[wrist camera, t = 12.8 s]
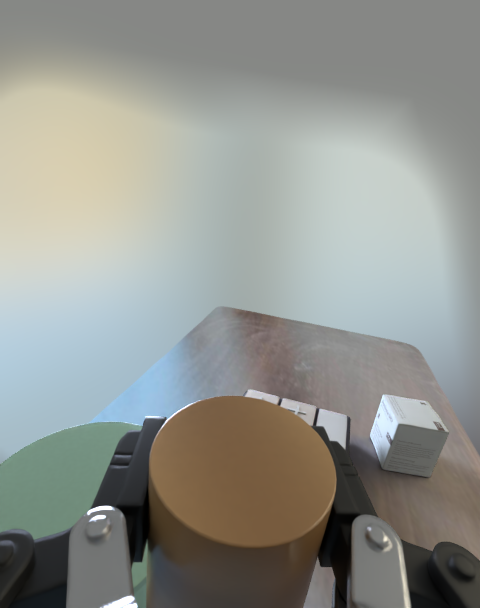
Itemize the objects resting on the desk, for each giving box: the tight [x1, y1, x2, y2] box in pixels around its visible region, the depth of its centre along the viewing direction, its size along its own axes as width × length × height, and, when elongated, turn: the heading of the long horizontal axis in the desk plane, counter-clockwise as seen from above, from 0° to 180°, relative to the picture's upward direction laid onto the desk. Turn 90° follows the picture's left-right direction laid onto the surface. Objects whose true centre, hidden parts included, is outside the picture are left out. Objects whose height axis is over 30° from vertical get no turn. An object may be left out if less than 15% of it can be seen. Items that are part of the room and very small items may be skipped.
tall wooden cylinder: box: [146, 396, 337, 608], centre depth 11 cm, size 5×5×10 cm
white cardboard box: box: [370, 394, 449, 477], centre depth 41 cm, size 6×6×7 cm
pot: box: [0, 422, 147, 608], centre depth 24 cm, size 15×17×10 cm
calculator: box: [243, 390, 350, 454], centre depth 41 cm, size 11×4×15 cm
